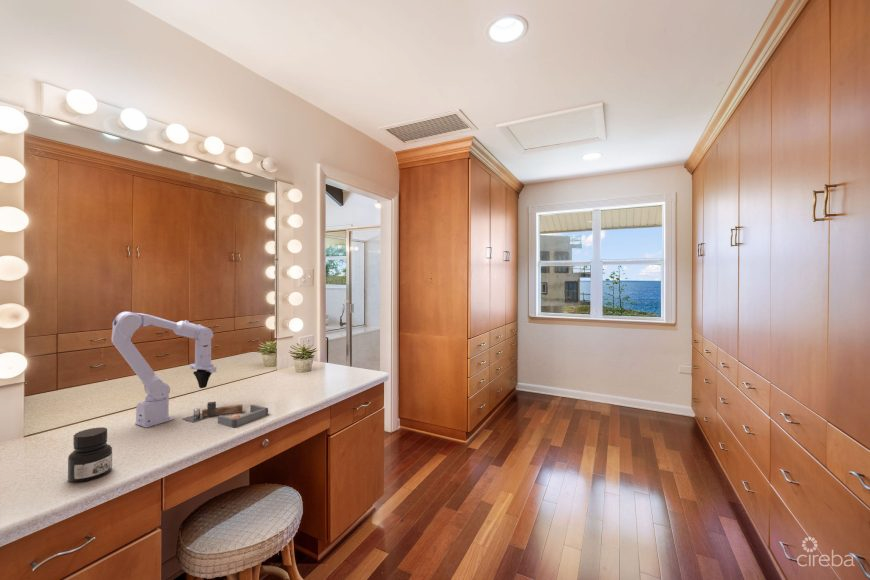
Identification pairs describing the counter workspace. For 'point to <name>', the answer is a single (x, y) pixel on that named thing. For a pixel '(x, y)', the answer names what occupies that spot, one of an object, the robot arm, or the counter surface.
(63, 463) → the counter surface
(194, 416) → the pivot base
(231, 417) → the ball
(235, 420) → the tray
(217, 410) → the lever
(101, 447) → the ink bottle
